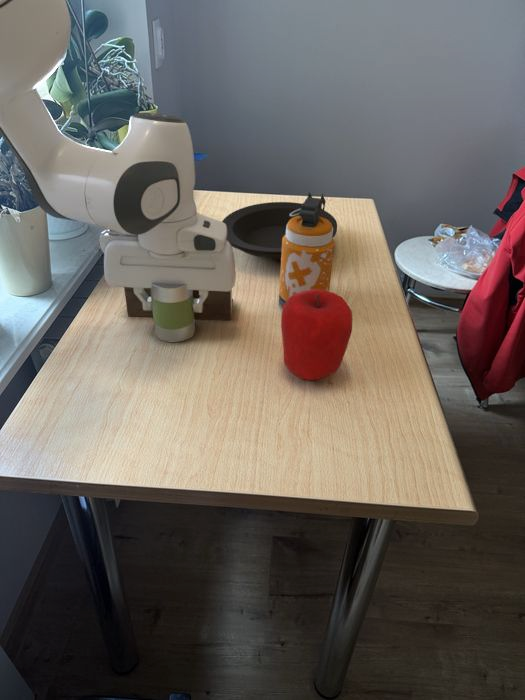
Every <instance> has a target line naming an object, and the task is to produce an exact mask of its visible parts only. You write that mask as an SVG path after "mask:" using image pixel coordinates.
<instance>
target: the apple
mask: <svg viewBox="0 0 525 700" xmlns="http://www.w3.org/2000/svg"><path fill="white" fill-rule="evenodd" d="M281 309H282V310H281V321H280V329H281V338H282V351H283V363H284V365H285V366H286V368H287V369H288V370H289V371H290V372H291V373H292V374H293V375H295V376H296V377H297V378H299V379H301V380H305V381H316V380H320V379H323V378H327V377H329V376H331V375H332V374H334V373H336V372H337V371H338V370H339V368H340V367H341V365H342V362H343V359H344V356H345V354H346V351H347V349H348V345H349V342H350V338H351V336H352V332H353V311H352V309H351V308H350V306H349V304H348V303H347V301H346V300H345V299H344V298H343V296H342V295H339V294H338V293H337V294H336V293H335V292H332V291H330V290H329V291H326V290H316V289H312V290H307V291H302V292H299V293H296V294H294V295H293V296H291V297H290V298H289V299H288V300H287V301H286V303H285V304H284V305H283V307H281Z"/></svg>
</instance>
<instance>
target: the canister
mask: <svg viewBox="0 0 525 700" xmlns="http://www.w3.org/2000/svg"><path fill="white" fill-rule="evenodd" d="M326 203H327V202H326V199H325V196H324V194H323V193H322V194H321V197H319V198H318V197H313V195H312V194H311V193H310V192H308V194H307V197H306V199H305V200H304V202H302V203H301V204H302V205H301V209H298V210H295V211H293V212H292V213H290V216H296V215H299V216H296V217H293V218H292V219H290V220H289V222H288V224H287V225H286V235H284V236H283V238H282V253H281V259H280V271H279V275H280V276H279V288H278V289H279V291H278V303H279V305H280V306H281V308H283V305H284V304H285V303H286V301H287V300H288V299H289V298H290V297H291V296H293V295H294V294H296V293H299V292H302V291H307V290H312V289H316V290H326V291H329V292H330V289H331V280H332V272H333V263H334V254H335V248H336V247H335V245H336V241H335V238H334V237H333V238H332V236H333V227H332V224H331V222H330V221H328V220H327V219H325V218H323V215H324V211H325V208H326ZM299 210H300V211H299ZM296 211H299V213H297V214H294V215H291V214H293V213H294V212H296Z"/></svg>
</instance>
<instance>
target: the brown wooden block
mask: <svg viewBox="0 0 525 700" xmlns="http://www.w3.org/2000/svg"><path fill="white" fill-rule="evenodd" d="M123 289H124V297H125V304H126V312H127V316H128V317H137V318H138V317H139V318H140V317H142V318H143V317H144V318H153V311H151V310H143V305H142V302H141V301H140V299H139V298H138V297H137V296H136V295H135V293H134V289H133V287H123ZM144 291H145V292H146V294H147V295H148V296H149V297H151V288H144ZM199 297H200V295H199V290H193V298H194V299H199ZM233 308H234V298H233V288H232V289H231V290H230V291H228V292H225V291H209V292H208V296H207V298H206V299H205V301H204V302H203V310H202V313H199V312H194V320H212V321H213V320H214V321H215V320H216V321H231V320H232V315H233Z"/></svg>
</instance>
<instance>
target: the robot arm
mask: <svg viewBox="0 0 525 700" xmlns="http://www.w3.org/2000/svg"><path fill="white" fill-rule="evenodd" d="M71 33H72V19H71V15H70V12H69V8H68V5H67V1H66V0H0V136H1V137H2V139H3V141H4V142H5V143H6V145H7V146H8V148H9V150H10V151H11V152H12V153H13V155H14V157H15V158H16V159H17V161H18V163H19V164H20V166H21V168H22V171H23V173H24V176H25V179H26V180H27V184H28V187H29V189H30V192H31V194H32V196H33V198H34V200H35V202H36V203H37V205H38V206H39V208H40V209H41V210H42V211H43V212H44V213H46V214H47V215H49V216H51V217H54V218H56V219H62V220H68V221H74V222H80V223H83V224H87V225H90V226H95V227H98V228H102V229H106V230H103V231H102V232H100V234H99V237H98V238H99V244H100V250H101V251H102V253H103V255H104V256H103V273H104V281H105V282H106V283H107V284H108V286H110V287H112V288H115V287H116V288H124V287H133V289H134V293H135V295H136V296H137V297H138V298H139V299H140V301H141V302H142V305H143V310H151V311H152V301H151V297H149V296H148V295H147V294H146V292H145V291H144V288H151V283H164V284H186V285H187V289H188V290H199V295H200V297H199V299H194V300H193V301H194V302H193V304H192V307H193V312H199V313H202V310H203V302H204V301H205V299H206V298H207V296H208V292H209V291H225V292H228V291H230V290H231V289H232V290H233V289H234V288H235V286H236V279H237V278H236V277H237V276H236V273H237V272H236V271H237V270H236V260H235V255H234V250H233V247H232V246H231V244H230V243H229V242H228V241H227V226H226V224H225V223H224V222H222V220H218V219H215V218H212V217H210V216H207V215H204V214H202V213H199V212H197V211H198V209H197V204H196V202H195V198H194V190H195V185H196V166H195V165H196V164H195V155H194V154H195V153H194V147H193V140H192V136H191V131H190V128H189V126H188V124H187V122H186V121H184V120H183V119H181V118H180V117H177V116H173V115H167V114H162V113H160V114H159V113H154V112H137V113H135V114H133V115H131V116H130V118H129V124H128V132H127V134H126V136H125V137H124V139H123V140H122V141H121V142H120V144H118V146H116V147H115V148H113V149H112V150H107V149H103V148H96V147H91V146H88V145H84V144H82V143H79V142H76V141H74V140H73V139H71V138H69V137H68V136H66V135H65V134H63V133H62V132H61V130H59V128H58V125H57V123H56V122H55V121H54V119H53V117H52V115H51V113H50V111H49V110H48V107H47V106H46V104H45V102H44V100H43V99H42V97H41V95H40V93H39V91H38V90H37V87H39V86H40V85H42V84H43V83H44V82H45V81H46V80H47V79H49V77H51V75H53V74H54V72H55V71H56V70H57V68H59V66H60V65H61V63H62V62H63V59H65V56H66V54H67V52H68V48H69V46H70V40H71Z"/></svg>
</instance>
